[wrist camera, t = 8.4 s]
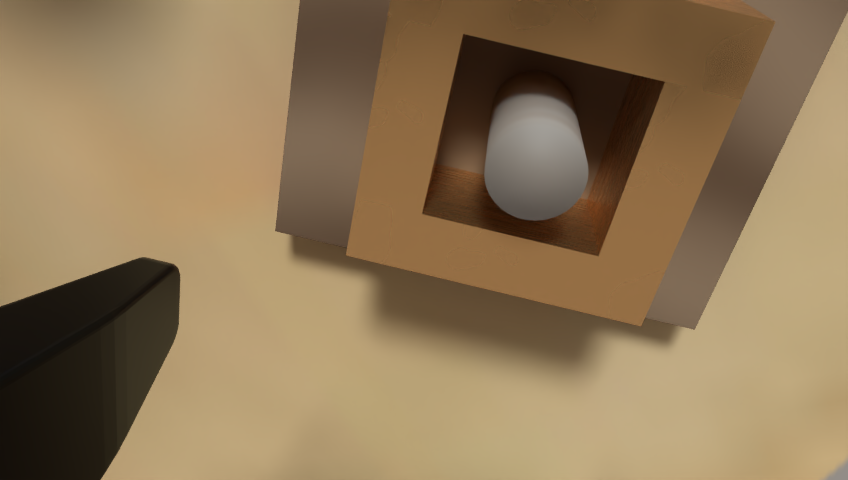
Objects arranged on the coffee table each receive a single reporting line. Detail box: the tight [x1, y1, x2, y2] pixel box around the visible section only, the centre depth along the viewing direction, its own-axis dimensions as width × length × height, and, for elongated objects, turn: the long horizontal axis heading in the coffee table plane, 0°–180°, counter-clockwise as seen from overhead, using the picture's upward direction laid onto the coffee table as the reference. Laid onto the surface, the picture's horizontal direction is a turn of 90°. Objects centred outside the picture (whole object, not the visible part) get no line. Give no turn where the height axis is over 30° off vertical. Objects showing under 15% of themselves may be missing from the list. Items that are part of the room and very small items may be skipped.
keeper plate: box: [275, 0, 848, 329], centre depth 16 cm, size 10×12×6 cm
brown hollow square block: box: [346, 0, 775, 326], centre depth 16 cm, size 7×7×3 cm
